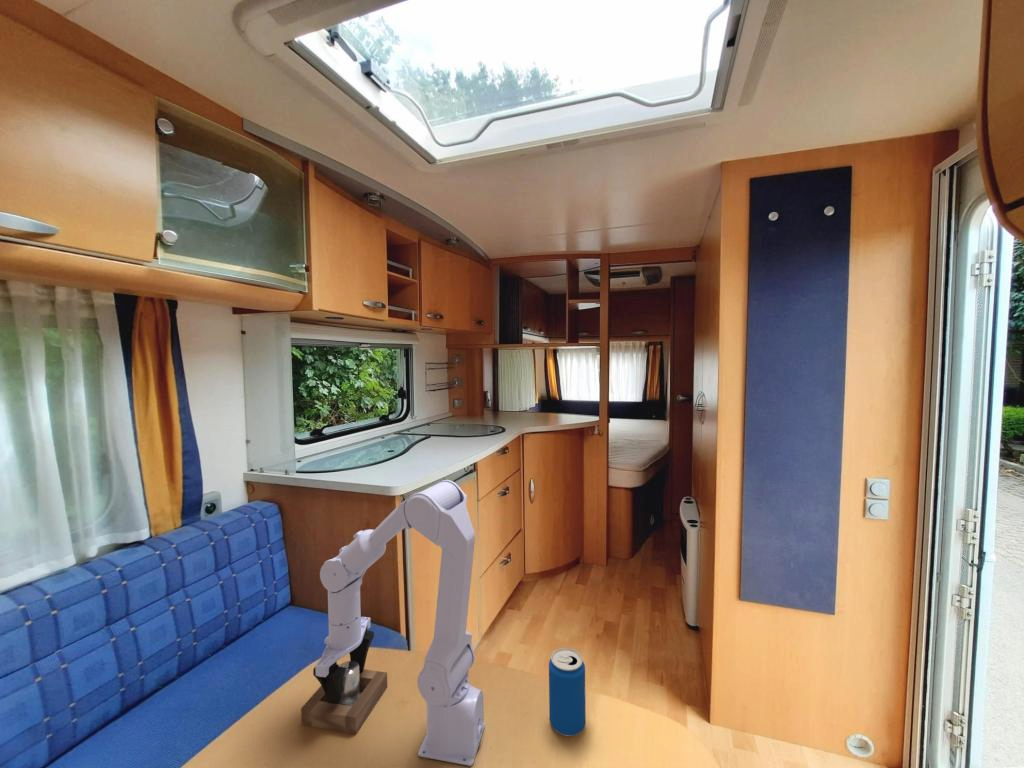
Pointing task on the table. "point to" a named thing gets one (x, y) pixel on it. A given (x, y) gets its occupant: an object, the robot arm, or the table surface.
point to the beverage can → (567, 692)
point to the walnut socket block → (345, 716)
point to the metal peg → (350, 683)
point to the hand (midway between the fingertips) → (346, 686)
